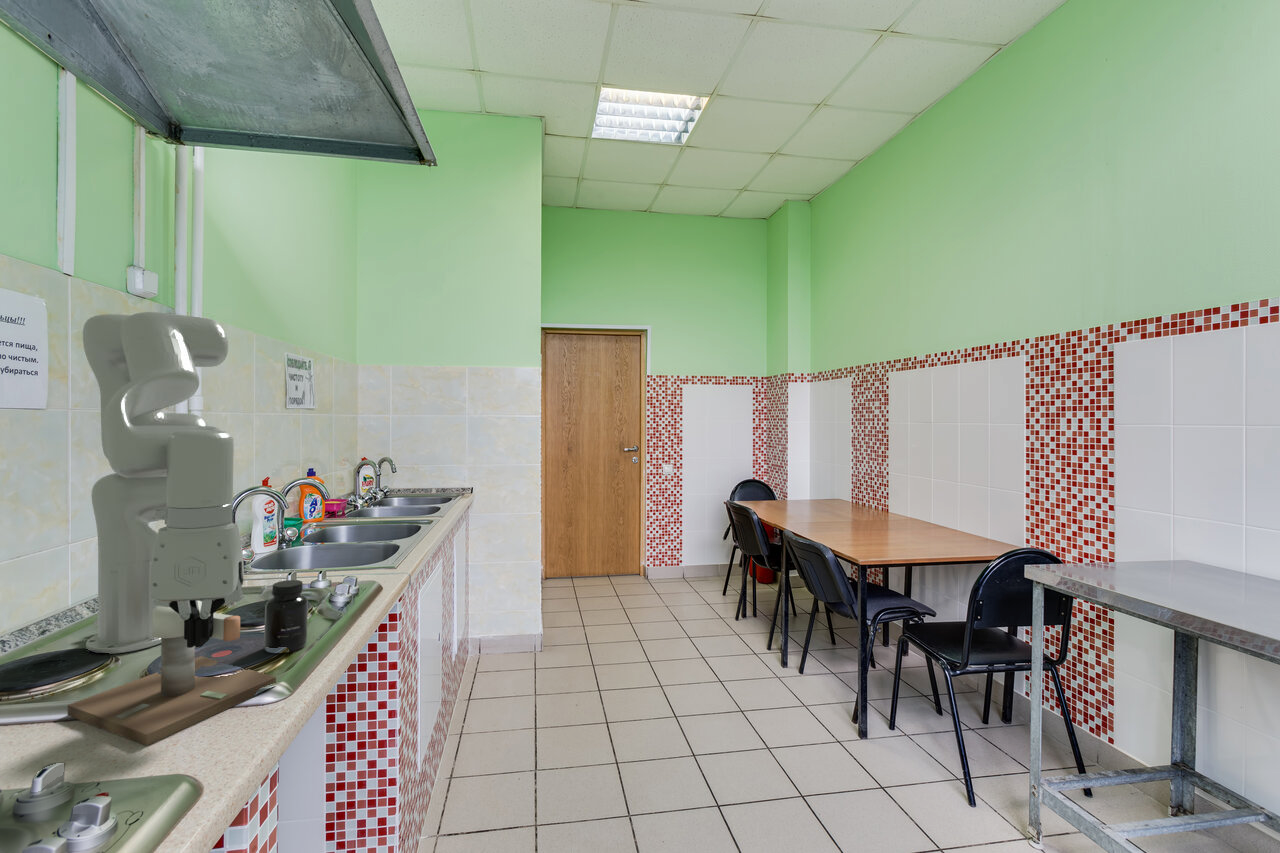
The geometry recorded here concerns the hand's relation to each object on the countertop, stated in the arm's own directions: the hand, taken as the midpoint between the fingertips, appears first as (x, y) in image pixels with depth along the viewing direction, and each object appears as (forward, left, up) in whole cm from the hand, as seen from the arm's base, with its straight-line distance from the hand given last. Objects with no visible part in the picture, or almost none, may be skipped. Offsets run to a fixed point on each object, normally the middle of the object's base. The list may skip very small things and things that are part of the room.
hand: (198, 643), depth 83 cm
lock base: (-8, +2, -11) cm, 13 cm away
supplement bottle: (-11, +22, -11) cm, 27 cm away
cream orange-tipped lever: (-4, +2, 0) cm, 4 cm away
